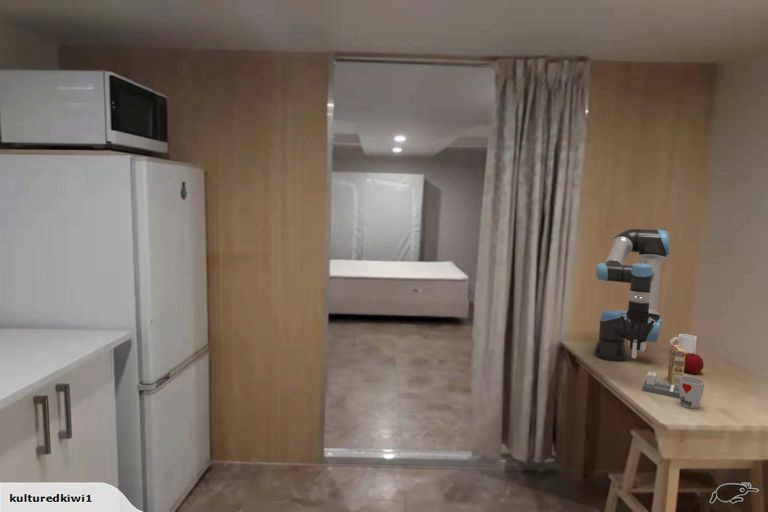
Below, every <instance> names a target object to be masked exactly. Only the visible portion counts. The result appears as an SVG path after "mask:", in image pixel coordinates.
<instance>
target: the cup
mask: <svg viewBox="0 0 768 512" xmlns="http://www.w3.org/2000/svg"><path fill="white" fill-rule="evenodd" d="M705 382H706V381H704V380H703V379H700V378H698V377H694V376H689V375H687V376H686V375H684V376H681V377H679V395H680V399H679V400H680V403H681V405H682V406H683V407H686V408H688V407H689V409H697V408H698V406H699V405H700V403H701V400H702V396H703V393H704V389H705V388H704V387H705V384H706V383H705Z"/></svg>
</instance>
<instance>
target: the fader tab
mask: <svg viewBox="0 0 768 512" xmlns="http://www.w3.org/2000/svg"><path fill="white" fill-rule="evenodd" d="M657 374H658V373H657V372H653V371H648V372H647V374H646V380H647V381H646V384H648V385H652V386H655V383H656V382H657Z"/></svg>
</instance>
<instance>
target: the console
mask: <svg viewBox="0 0 768 512" xmlns="http://www.w3.org/2000/svg"><path fill="white" fill-rule="evenodd" d="M646 381H647V379H645V380H644V381H643V384H642V389H641V390H642V391H644V392H648V393H652V394H656V395H657V394H658V395H661V396H667V397H671V398H675V399H679V398H680V395H679V386H676V385H672V384H671V383H665V382H659V381H656V383H655V386H652V385H648V384H646Z"/></svg>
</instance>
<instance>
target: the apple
mask: <svg viewBox="0 0 768 512" xmlns="http://www.w3.org/2000/svg"><path fill="white" fill-rule="evenodd" d="M693 353H694V352H693ZM703 369H704V360H703V358H702V357H701V355H698V354H696V353H695V354H692V353H686V354H685V364H684V372H686V373H688V374H694V375H695V374H699V373H701V372H702V371H703Z"/></svg>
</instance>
